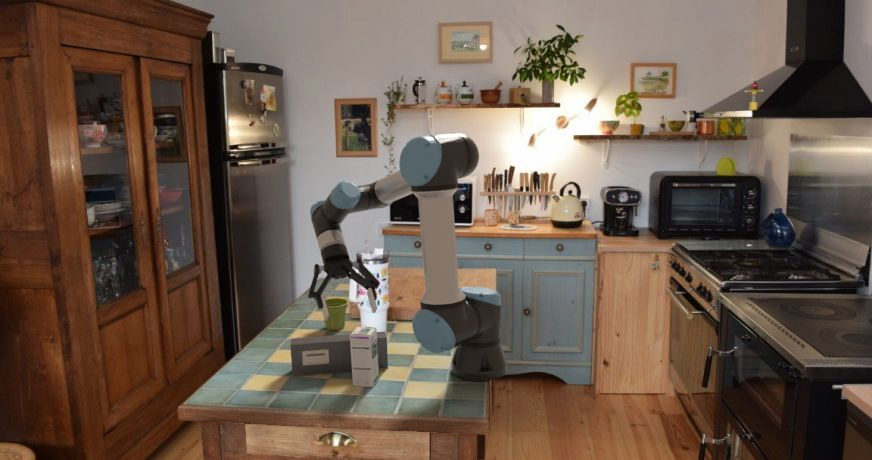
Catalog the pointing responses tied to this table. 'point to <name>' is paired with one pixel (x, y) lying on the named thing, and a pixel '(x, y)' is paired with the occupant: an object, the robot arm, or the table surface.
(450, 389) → the table surface
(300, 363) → the box
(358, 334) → the syrup box
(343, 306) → the plant pot
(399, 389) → the table surface
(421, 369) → the table surface
